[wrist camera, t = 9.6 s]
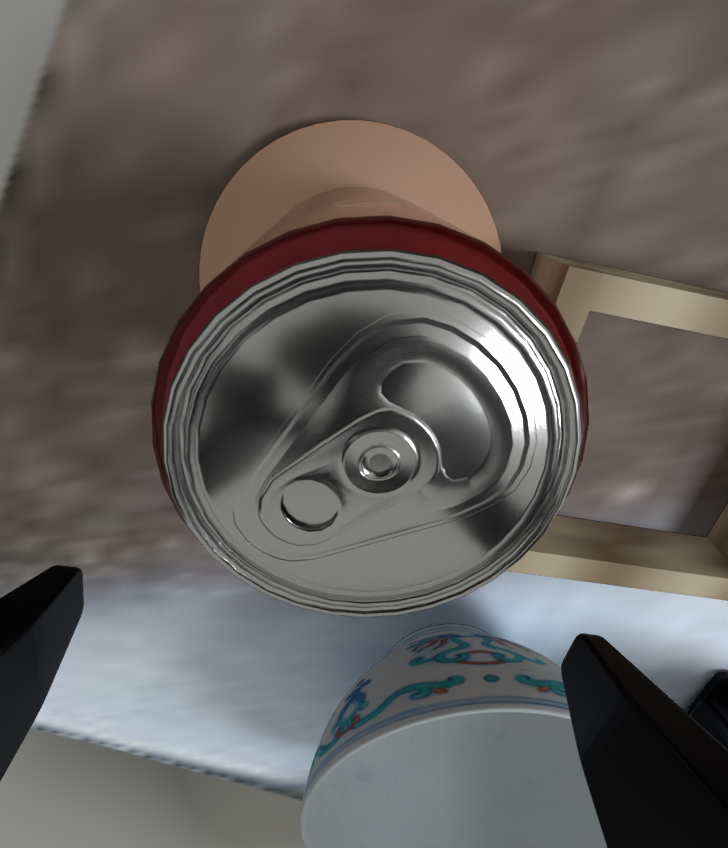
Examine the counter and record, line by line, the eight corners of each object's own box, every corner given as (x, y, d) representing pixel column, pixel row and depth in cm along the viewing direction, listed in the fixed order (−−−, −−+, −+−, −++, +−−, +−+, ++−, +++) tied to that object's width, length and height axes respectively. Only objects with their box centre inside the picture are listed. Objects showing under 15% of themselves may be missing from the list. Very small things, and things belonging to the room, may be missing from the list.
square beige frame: (868, 323, 21) (946, 347, 18) (715, 559, 26) (758, 604, 23) (537, 251, 19) (569, 266, 16) (446, 520, 24) (459, 564, 22)
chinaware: (632, 609, 28) (729, 758, 21) (493, 767, 34) (532, 923, 27) (376, 526, 24) (389, 668, 17) (273, 716, 30) (252, 878, 23)
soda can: (394, 139, 17) (491, 94, 6) (486, 328, 20) (663, 525, 9) (213, 259, 18) (27, 398, 7) (324, 418, 21) (308, 682, 10)
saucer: (541, 162, 18) (547, 162, 17) (452, 440, 22) (455, 447, 22) (214, 84, 16) (210, 82, 16) (194, 398, 21) (190, 404, 21)
